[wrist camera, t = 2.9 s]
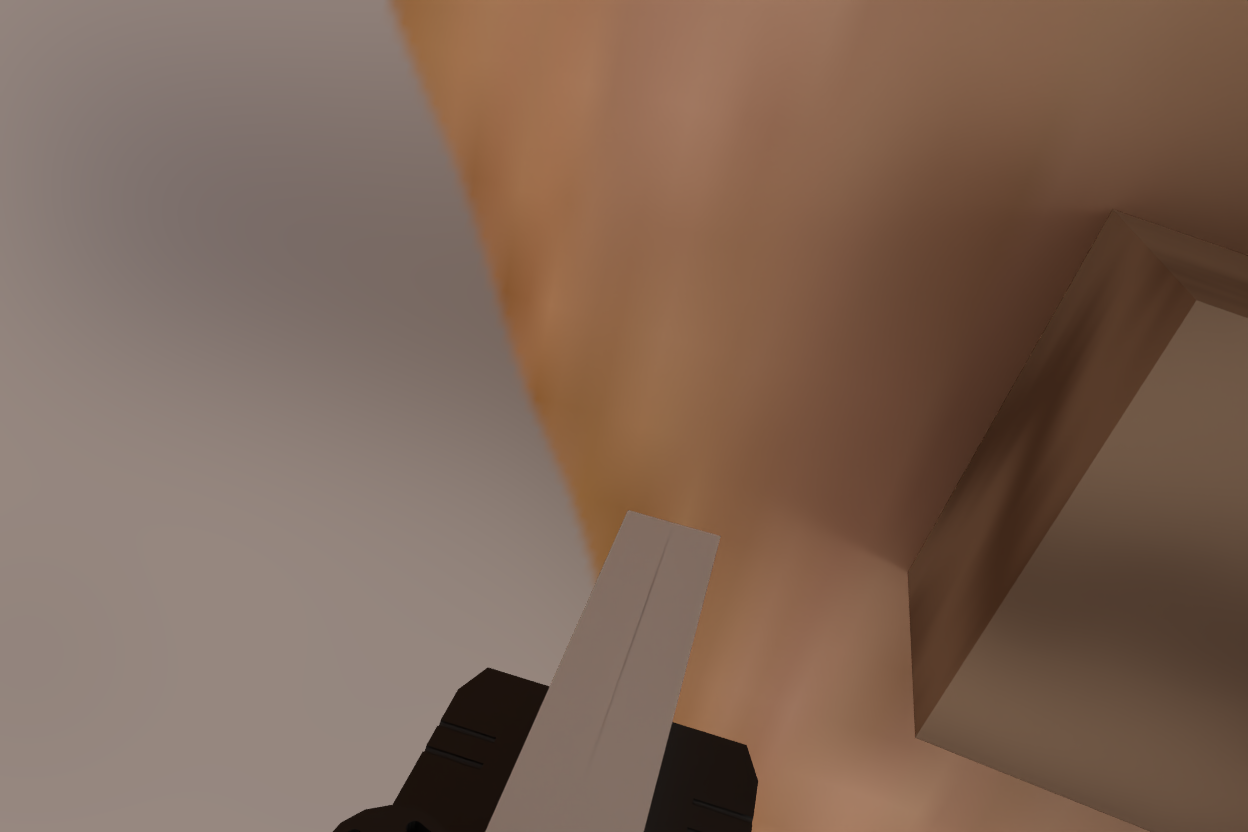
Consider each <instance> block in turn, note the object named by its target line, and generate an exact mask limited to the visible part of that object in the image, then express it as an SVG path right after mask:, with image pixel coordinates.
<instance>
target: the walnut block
mask: <svg viewBox="0 0 1248 832" xmlns="http://www.w3.org/2000/svg"><path fill="white" fill-rule="evenodd" d="M908 588H909V610H910V632H911V655H912V677H913V699H914V722H915V738H917V739H920V740H923V741H925V742H928V743H930V744H933V745H935V746H938V747H940V748H943V749H945V750H948V751H950V752H953V753H955V754H958V755H960V756H963V757H965V758H968V759H970V760H973V761H975V762H978V763H980V764H983V765H985V766H988V767H990V768H993V769H995V770H998V771H1000V772H1003V773H1005V774H1008V775H1010V776H1013V777H1015V778H1018V779H1020V780H1023V781H1025V782H1028V783H1030V784H1033V785H1035V786H1038V787H1040V788H1043V789H1045V790H1048V791H1050V792H1053V793H1055V794H1058V795H1060V796H1063V797H1065V798H1068V799H1070V800H1073V801H1075V802H1078V803H1080V804H1083V805H1085V806H1088V807H1090V808H1093V809H1095V810H1098V811H1100V812H1103V813H1105V814H1108V815H1110V816H1113V817H1115V818H1118V819H1120V820H1123V821H1125V822H1128V823H1130V824H1133V825H1135V826H1138V827H1140V828H1143V829H1145V830H1148V831H1150V832H1248V256H1247V255H1244V254H1242V253H1239V252H1236V251H1233V250H1230V249H1227V248H1224V247H1221V246H1218V245H1215V244H1212V243H1210V242H1207V241H1204V240H1201V239H1198V238H1195V237H1192V236H1189V235H1186V234H1183V233H1180V232H1178V231H1175V230H1172V229H1169V228H1166V227H1163V226H1160V225H1157V224H1154V223H1151V222H1148V221H1146V220H1143V219H1140V218H1137V217H1134V216H1131V215H1128V214H1125V213H1122V212H1119V211H1116V210H1114V209H1113V210H1112V212H1111V213H1110V215H1109V217H1108V219H1107V220H1106V222H1105V224H1104V226H1103V227H1102V229H1101V231H1100V233H1099V235H1098V236H1097V238H1096V240H1095V242H1094V243H1093V245H1092V247H1091V249H1090V251H1089V252H1088V254H1087V256H1086V258H1085V259H1084V261H1083V263H1082V265H1081V266H1080V268H1079V270H1078V272H1077V274H1076V275H1075V277H1074V279H1073V281H1072V282H1071V284H1070V286H1069V288H1068V290H1067V291H1066V293H1065V295H1064V297H1063V298H1062V300H1061V302H1060V304H1059V305H1058V307H1057V309H1056V311H1055V313H1054V314H1053V316H1052V318H1051V320H1050V321H1049V323H1048V325H1047V327H1046V329H1045V330H1044V332H1043V334H1042V336H1041V337H1040V339H1039V341H1038V343H1037V344H1036V346H1035V348H1034V350H1033V352H1032V353H1031V355H1030V357H1029V359H1028V360H1027V362H1026V364H1025V366H1024V367H1023V369H1022V371H1021V373H1020V375H1019V376H1018V378H1017V380H1016V382H1015V383H1014V385H1013V387H1012V389H1011V391H1010V392H1009V394H1008V396H1007V398H1006V399H1005V401H1004V403H1003V405H1002V406H1001V408H1000V410H999V412H998V414H997V415H996V417H995V419H994V421H993V422H992V424H991V426H990V428H989V430H988V431H987V433H986V435H985V437H984V438H983V440H982V442H981V444H980V445H979V447H978V449H977V451H976V453H975V454H974V456H973V458H972V460H971V461H970V463H969V465H968V467H967V469H966V470H965V472H964V474H963V476H962V477H961V479H960V481H959V483H958V484H957V486H956V488H955V490H954V492H953V493H952V495H951V497H950V499H949V500H948V502H947V504H946V506H945V507H944V509H943V511H942V513H941V515H940V516H939V518H938V520H937V522H936V523H935V525H934V527H933V529H932V531H931V532H930V534H929V536H928V538H927V539H926V541H925V543H924V545H923V546H922V548H921V550H920V552H919V554H918V555H917V557H916V559H915V561H914V562H913V564H912V566H911V568H910V570H909V571H908Z"/></svg>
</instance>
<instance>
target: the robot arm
mask: <svg viewBox="0 0 1248 832" xmlns="http://www.w3.org/2000/svg"><path fill="white" fill-rule="evenodd" d="M719 540H720V536H718V535H715V534H711V533H708V532H704V531H701V530H697V529H693V528H690V527H686V526H683V525H679V524H676V523H672V522H669V521H665V520H661V519H658V518H654V517H651V516H647V515H644V514H640V513H637V512H633V511H629V510H628V511H627V513H626V516H625V518H624V520H623V523H622V525H621V527H620V529H619V532H618V534H617V536H616V538H615V541H614V543H613V545H612V547H611V550H610V552H609V554H608V556H607V559H606V561H605V563H604V565H603V568H602V570H601V572H600V574H599V577H598V579H597V581H596V583H595V586H594V588H593V590H592V592H591V595H590V597H589V599H588V601H587V604H586V606H585V608H584V610H583V613H582V615H581V617H580V619H579V622H578V624H577V626H576V628H575V631H574V633H573V635H572V637H571V640H570V642H569V645H568V646H567V649H566V651H565V654H564V656H563V658H562V660H561V662H560V665H559V667H558V669H557V671H556V674H555V676H554V678H553V680H552V683H551V685H550V687H549V686H546V685H543V684H540V683H536V682H533V681H530V680H526V679H523V678H520V677H517V676H514V675H511V674H507V673H504V672H501V671H498V670H494V669H491V668H486V669H485V670H484V671H483V672H481V673H480V674H478V675H477V676H476V677H474V678H473V679H472V680H470V681H469V682H468V683H466V684H465V685H463V686H462V687H461V688H459V689H458V691H457V692H456V694H455V696H454V698H453V699H452V701H451V703H450V705H449V707H448V708H447V710H446V712H445V714H444V715H443V717H442V719H441V722H440V725H439V726H437V728H436V729H435V731H434V733H433V735H432V737H431V738H430V740H429V742H428V743H427V746H426V749H425V751H424V752H422V754H421V756H420V758H419V759H418V761H417V763H416V765H415V766H414V768H413V770H412V772H411V773H410V775H409V777H408V779H407V780H406V782H405V784H404V786H403V787H402V789H401V791H400V793H399V795H398V796H397V798H396V800H395V801H394V803H393V805H388V806H383V807H377V808H372V809H366V810H364V811H362V812H360V813H358V814H356V815H354V816H352V817H351V818H349V819H347V820H345V821H343V822H342V823H340V824H339V825H338V827H337V828H336V829H335V830H334V831H333V832H751V830H752V820H753V816H754V808H755V801H756V793H757V786H758V779H757V776H756V773H755V770H754V767H753V764H752V761H751V757H750V754H749V751H748V748H747V745H744V744H741V743H738V742H735V741H732V740H728V739H725V738H722V737H719V736H715V735H712V734H709V733H706V732H702V731H699V730H696V729H693V728H690V727H686V726H683V725H680V724H677V723H673V722H672V721H673V717H674V713H675V709H676V705H677V702H678V698H679V694H680V690H681V686H682V682H683V679H684V675H685V671H686V667H687V663H688V659H689V655H690V652H691V648H692V644H693V640H694V636H695V632H696V629H697V625H698V621H699V617H700V613H701V609H702V606H703V602H704V598H705V594H706V590H707V586H708V582H709V579H710V575H711V571H712V567H713V563H714V559H715V556H716V552H717V548H718V544H719Z"/></svg>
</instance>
